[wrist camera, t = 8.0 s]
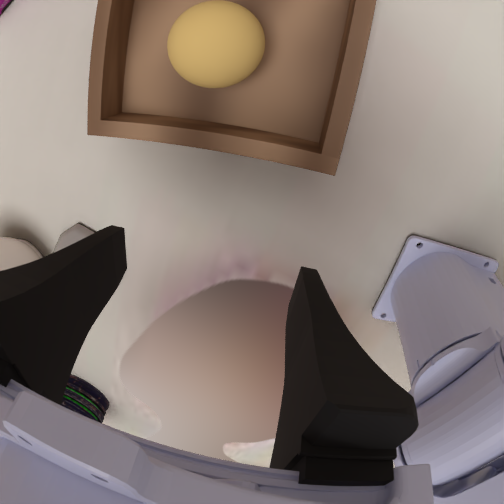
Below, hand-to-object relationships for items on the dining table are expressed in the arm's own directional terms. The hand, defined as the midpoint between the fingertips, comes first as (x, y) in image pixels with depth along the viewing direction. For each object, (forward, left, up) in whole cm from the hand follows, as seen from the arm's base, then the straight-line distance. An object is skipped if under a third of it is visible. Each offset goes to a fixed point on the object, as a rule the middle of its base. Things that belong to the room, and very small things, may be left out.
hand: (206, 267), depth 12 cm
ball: (+2, -8, -10) cm, 13 cm away
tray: (+2, -9, -10) cm, 13 cm away
